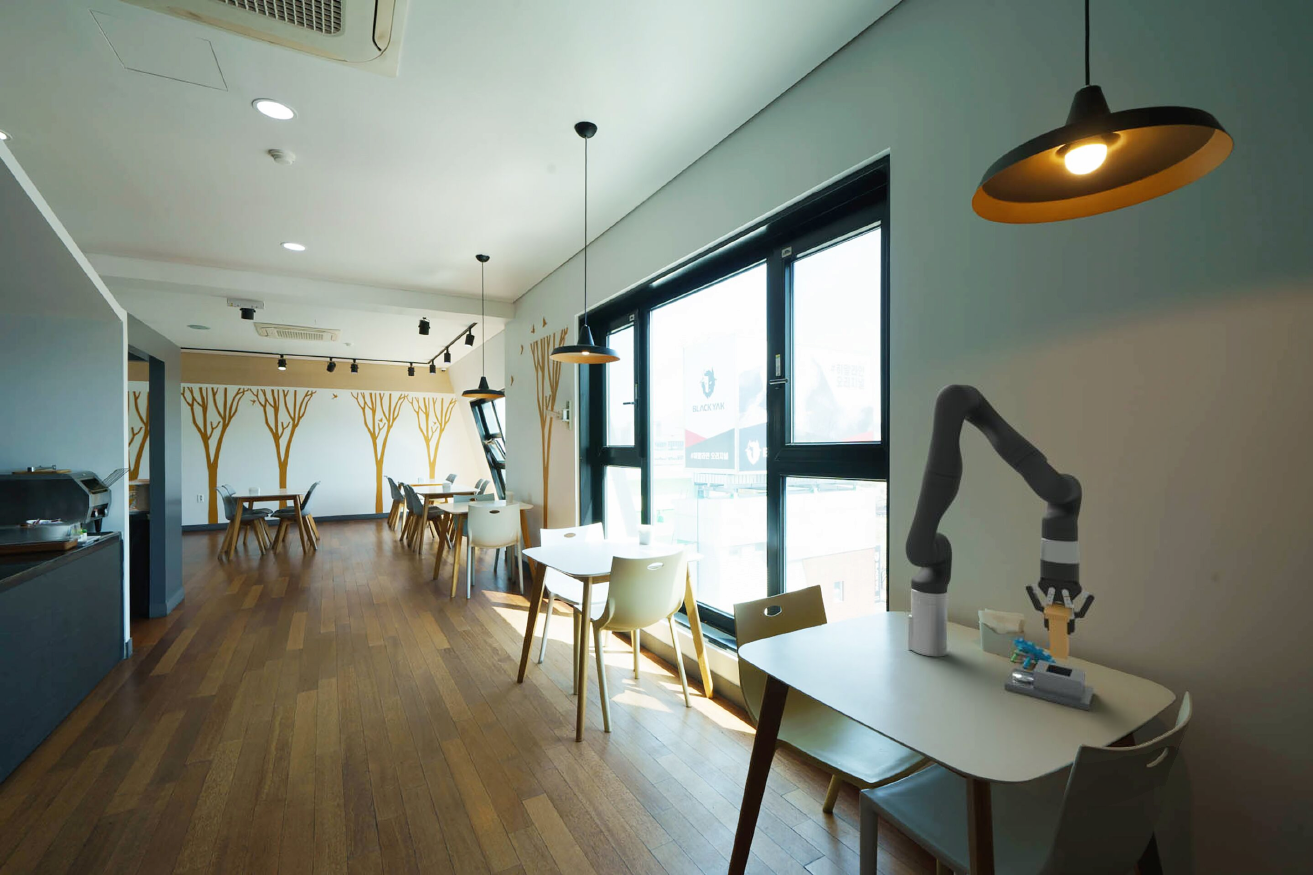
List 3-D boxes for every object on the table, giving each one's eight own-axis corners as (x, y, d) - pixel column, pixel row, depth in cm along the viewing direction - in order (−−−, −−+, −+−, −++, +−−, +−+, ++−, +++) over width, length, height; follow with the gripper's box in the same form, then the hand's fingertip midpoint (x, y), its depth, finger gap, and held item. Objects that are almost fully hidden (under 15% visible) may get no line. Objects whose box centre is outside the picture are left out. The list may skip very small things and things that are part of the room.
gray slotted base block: (1004, 689, 135) (1004, 666, 135) (1014, 674, 144) (1014, 652, 144) (1088, 710, 124) (1089, 685, 125) (1093, 693, 133) (1093, 669, 134)
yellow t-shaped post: (1046, 656, 133) (1044, 612, 131) (1049, 643, 137) (1047, 600, 135) (1070, 662, 130) (1068, 616, 128) (1073, 648, 134) (1071, 604, 132)
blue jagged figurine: (1065, 667, 145) (1038, 640, 144) (1053, 685, 143) (1026, 658, 143) (1030, 657, 155) (1005, 631, 155) (1018, 674, 154) (993, 648, 154)
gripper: (1021, 556, 135) (1021, 629, 135) (1095, 565, 126) (1096, 643, 125) (1026, 552, 141) (1026, 622, 140) (1098, 560, 131) (1098, 635, 131)
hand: (1059, 631), depth 133 cm, fingers closed on yellow t-shaped post, 3 cm apart
